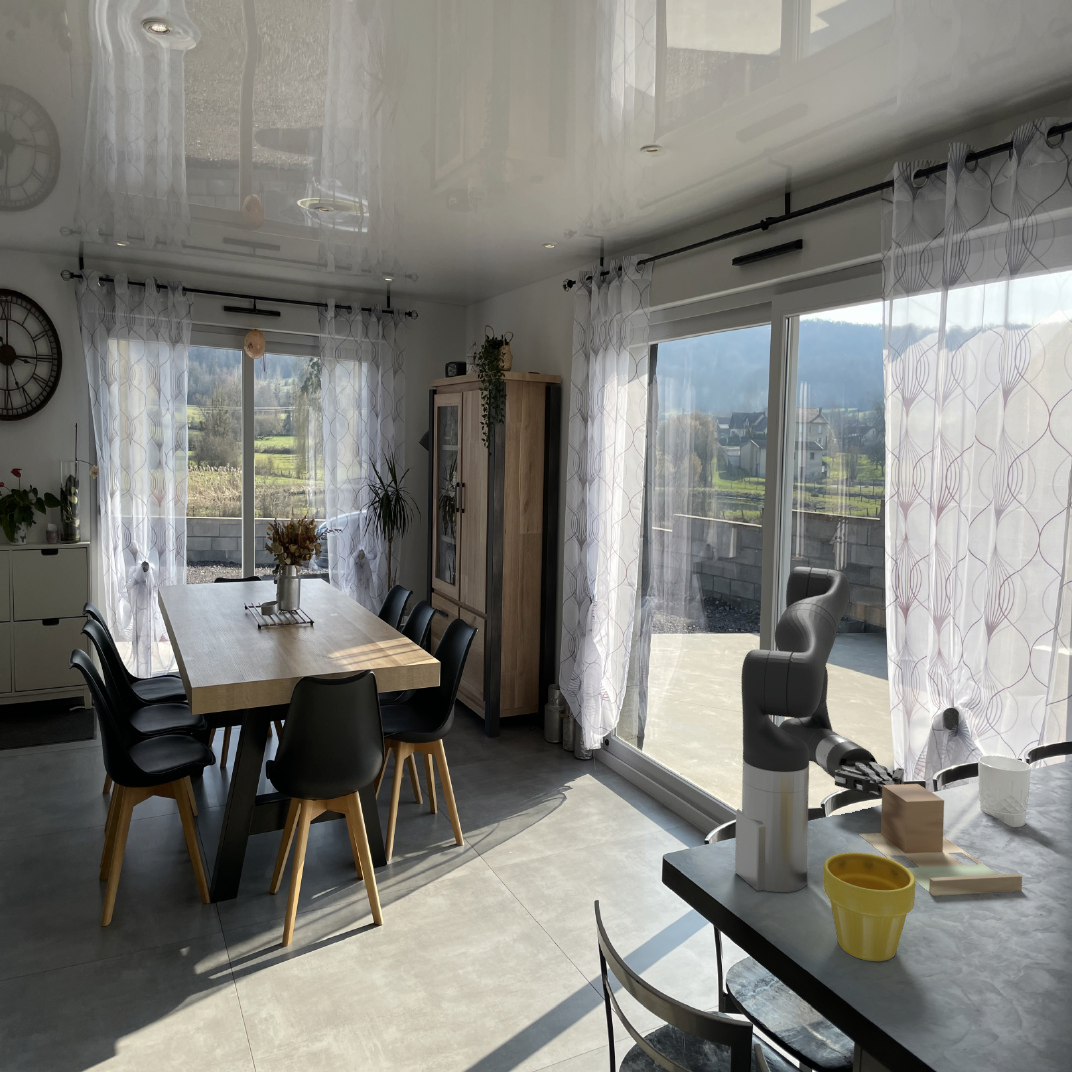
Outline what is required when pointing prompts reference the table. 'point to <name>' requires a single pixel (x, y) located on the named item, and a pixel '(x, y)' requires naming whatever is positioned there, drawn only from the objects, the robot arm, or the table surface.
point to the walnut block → (912, 818)
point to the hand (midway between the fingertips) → (897, 795)
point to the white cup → (1004, 788)
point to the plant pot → (868, 902)
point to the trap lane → (948, 870)
